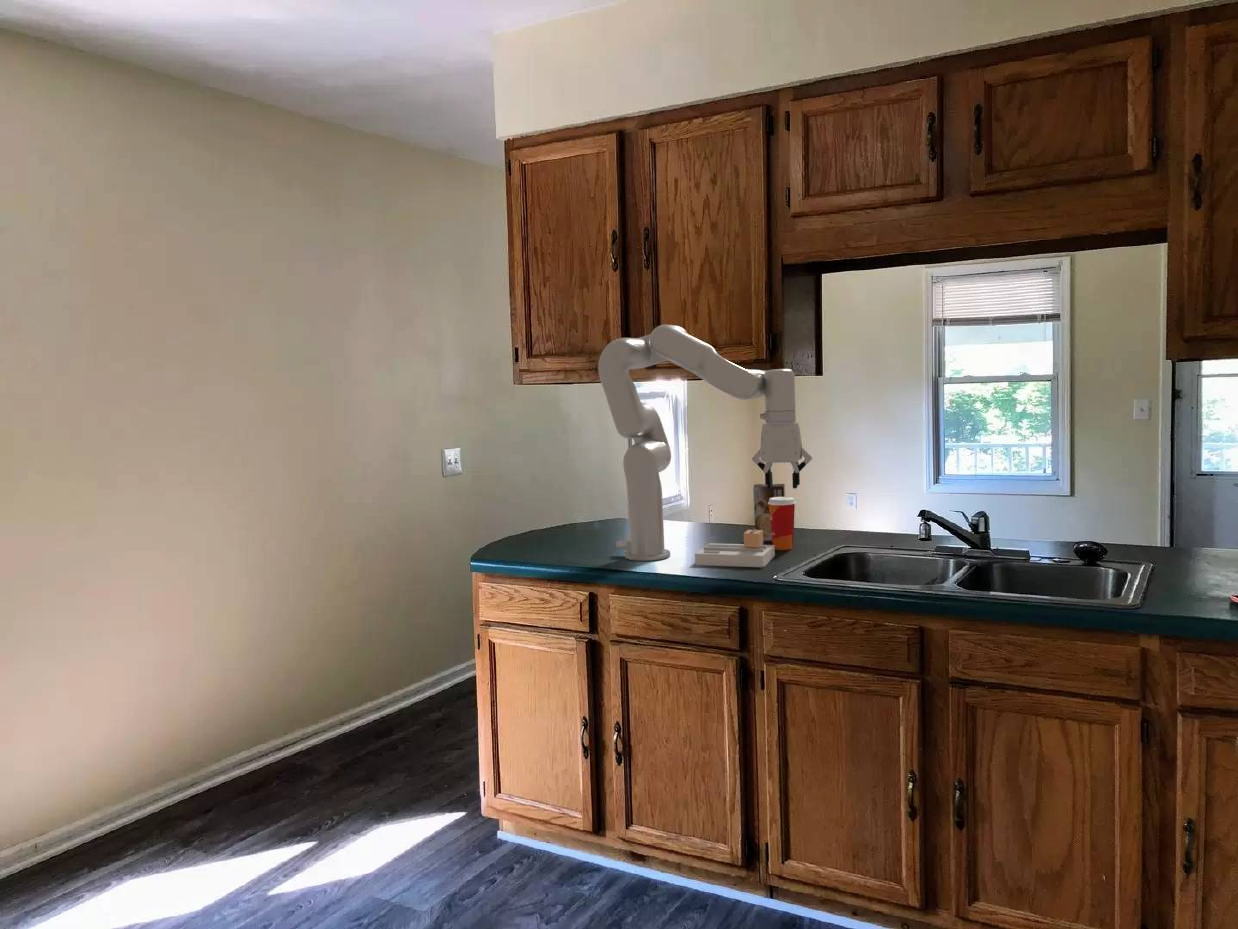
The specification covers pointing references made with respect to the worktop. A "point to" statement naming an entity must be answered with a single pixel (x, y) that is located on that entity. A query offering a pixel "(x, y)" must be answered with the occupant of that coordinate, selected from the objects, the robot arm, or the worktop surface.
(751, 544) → the fader knob
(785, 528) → the paper cup
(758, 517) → the coffee box
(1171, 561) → the worktop surface
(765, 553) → the panel
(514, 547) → the worktop surface
